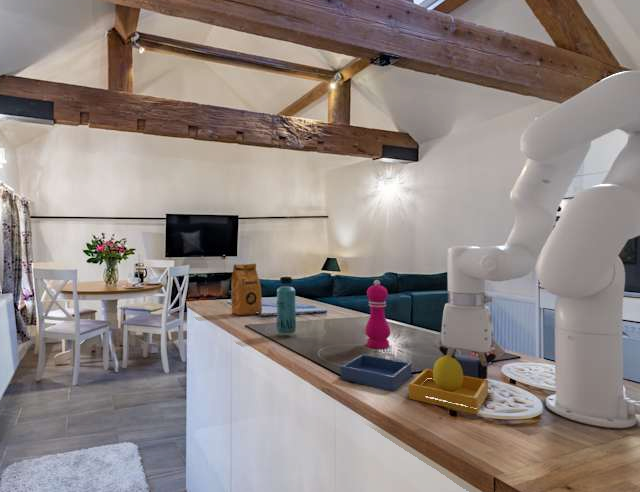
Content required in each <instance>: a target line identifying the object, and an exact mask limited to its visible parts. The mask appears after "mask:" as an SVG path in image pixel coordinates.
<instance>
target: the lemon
mask: <svg viewBox="0 0 640 492" xmlns="http://www.w3.org/2000/svg"><path fill="white" fill-rule="evenodd" d="M432 370H433V376H434V381H435V383H436V384H437V386H438V387H439V388H440V389H442V390H444V391H449V392H454V391H457V390H458V389H459V388H460V387H461V385H462V383H463V371H462V368H461V366H460V364H459V363H458V362H457V361H456V360H455V359H454V358H451V357H450V356H449V355H446V356H441V357H439V358H438V359H437V360H436V361H435V363H434V364H433V368H432Z"/></svg>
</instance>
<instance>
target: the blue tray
mask: <svg viewBox="0 0 640 492" xmlns="http://www.w3.org/2000/svg"><path fill="white" fill-rule="evenodd" d="M411 377H412V363H411V362H407V361H401V360H394V359H391V358H384V357H380V356H373V355H368V354H363V353H361V354H360V355H358V356H356V357H355V358H352V359H351V360H349V361H347V362H346V363H344V364H343V365H341V366H340V379H341V380H343V381H348V382H352V383H357V384H361V385H366V386H370V387H374V388H378V389H383V390H387V391H391V392H394V391H396V390H397V389H398V388H400V386H402V384H404V383H405V382H406V381H407V380H408V379H410V378H411Z"/></svg>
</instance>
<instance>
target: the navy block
mask: <svg viewBox="0 0 640 492" xmlns="http://www.w3.org/2000/svg"><path fill="white" fill-rule="evenodd" d="M454 356H455V357H454V359H455V360H456V361H457V362H458V363H459V364H460V366H461V368H462V371H463V376H468V377H474V378H479V376H478V366H479V364H480V359H479V357H475V356H470V355H468V354H462V353H461V354H460V353H457V354H456V355H454Z"/></svg>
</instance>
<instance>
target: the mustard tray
mask: <svg viewBox="0 0 640 492" xmlns="http://www.w3.org/2000/svg"><path fill="white" fill-rule="evenodd" d="M427 378H432V379H427ZM426 379H427V380H426ZM433 379H434V376H433V369H431V368H425V369H424V370H423V371H421V373H419V374H418V375H417V376H416V377H414V379H413V380H411V381H410V382H409V383H408V399H410V400H415V401H418V402H423V403H427V404H431V405H435V406H439V407H444V408H449V409H452V410H457V411H461V412H465V413H469V414H472V415H473V414H474V415H478V413H479V412H480V410H481V408H482V406H483V404H484V403H485V401H486V399H487V397H488V395H489V380H488V379H479V378H474V377H468V376H463V383H462V385H461V387H460V388H459V389H458V390H457V391H454V392H449V391H444V390H442V389H440V388H439V387H438V386H437V384H436V383H435V381H434V380H433ZM425 380H426V381H425ZM424 381H425V382H424ZM423 382H424V383H423ZM422 383H423V384H422ZM421 384H422V385H421ZM425 396H428V397H434V398H438V399H442V400H446V401H448V402H452V403H458V404H463V405H466V406H470V407H474V408H477V407H478V408H477V409H474V408H470V407H465V406H461V405H456V404H452V403H448V402H443V401H439V400H435V399H430V398H426V397H425ZM483 397H484V398H483ZM480 402H481V403H480ZM479 404H480V405H479Z"/></svg>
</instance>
